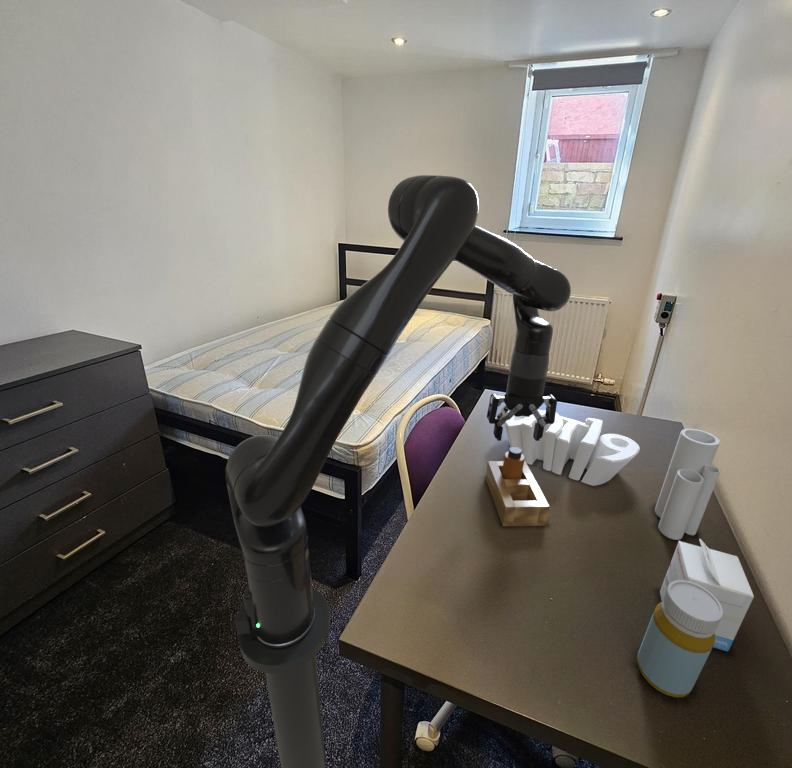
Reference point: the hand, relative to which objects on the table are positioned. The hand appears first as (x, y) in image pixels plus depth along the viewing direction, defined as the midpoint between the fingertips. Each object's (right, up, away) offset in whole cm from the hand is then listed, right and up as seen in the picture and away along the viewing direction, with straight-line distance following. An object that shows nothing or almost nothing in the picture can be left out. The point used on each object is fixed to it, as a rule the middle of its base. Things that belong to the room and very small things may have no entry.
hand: (517, 439), depth 91 cm
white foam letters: (+16, -8, +19) cm, 26 cm away
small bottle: (-1, -13, +5) cm, 14 cm away
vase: (+33, -18, -3) cm, 38 cm away
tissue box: (+23, -26, -24) cm, 42 cm away
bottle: (+13, -30, -32) cm, 45 cm away
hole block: (0, -14, +2) cm, 14 cm away
